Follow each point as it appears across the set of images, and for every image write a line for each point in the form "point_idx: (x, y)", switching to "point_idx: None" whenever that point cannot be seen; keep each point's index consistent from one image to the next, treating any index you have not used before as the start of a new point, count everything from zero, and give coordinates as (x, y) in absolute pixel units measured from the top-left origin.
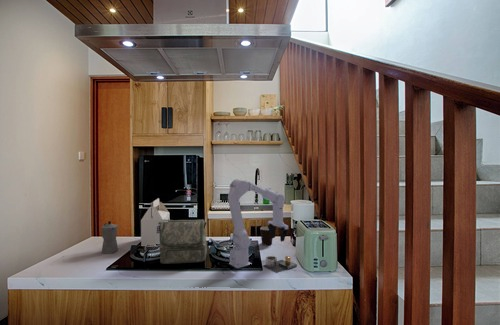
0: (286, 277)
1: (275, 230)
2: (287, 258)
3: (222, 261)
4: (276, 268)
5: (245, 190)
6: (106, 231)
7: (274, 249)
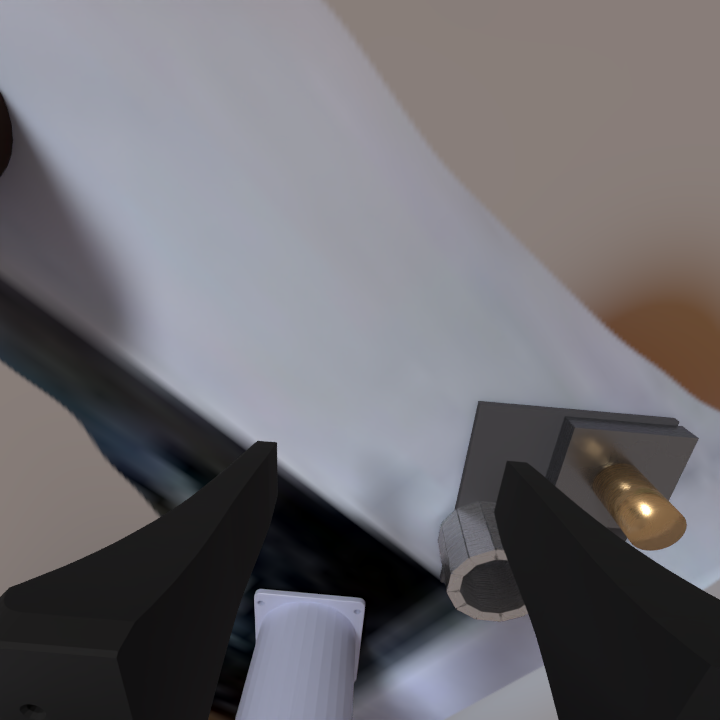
0: None
1: (218, 522)
2: (661, 542)
3: None
4: None
5: None
6: None
7: (189, 214)
